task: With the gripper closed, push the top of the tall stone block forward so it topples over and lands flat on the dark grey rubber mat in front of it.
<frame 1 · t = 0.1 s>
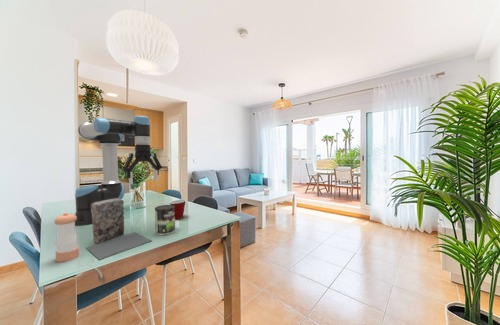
hand: (144, 182, 111), 28 cm above the table, fingers open, 13 cm apart
stone block: (109, 238, 104), on the table
mat: (119, 244, 96), on the table
salt shaker: (67, 257, 85), on the table
plastic cup: (178, 218, 136), on the table
coffee can: (165, 231, 112), on the table
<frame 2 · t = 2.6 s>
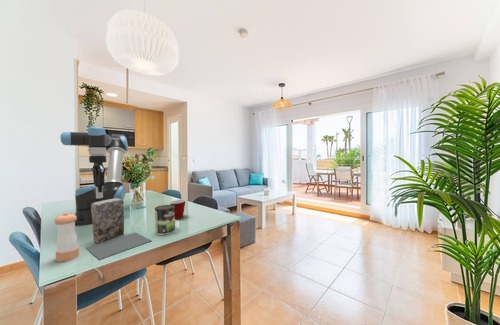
hand: (99, 197, 110), 20 cm above the table, fingers closed
nothing on the table moved.
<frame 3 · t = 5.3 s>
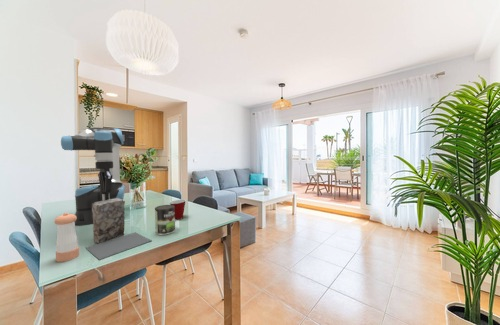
hand: (106, 205, 105), 17 cm above the table, fingers closed
stone block: (109, 238, 104), on the table, touching gripper
everything else where it was.
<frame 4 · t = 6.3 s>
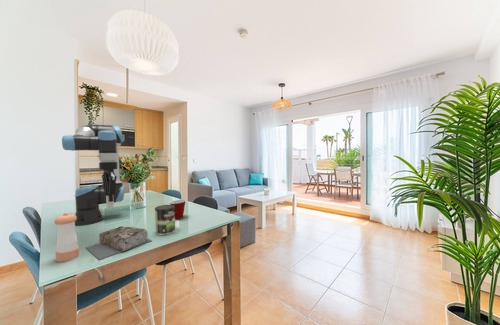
hand: (110, 207, 102), 17 cm above the table, fingers closed
stone block: (112, 233, 103), point 3 cm above the table, touching mat
everything else where it was.
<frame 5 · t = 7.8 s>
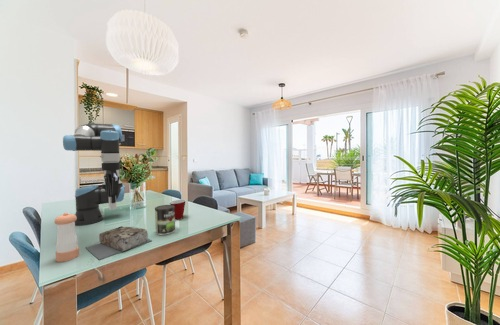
hand: (112, 209, 100), 16 cm above the table, fingers closed
nothing on the table moved.
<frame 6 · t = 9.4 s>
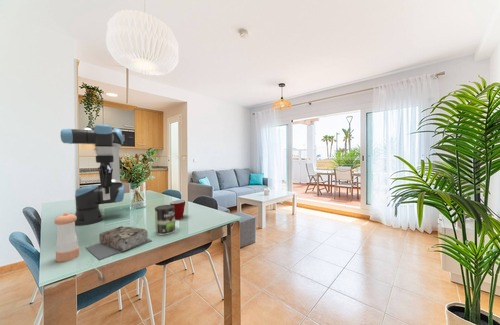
hand: (106, 199, 105), 20 cm above the table, fingers closed
nothing on the table moved.
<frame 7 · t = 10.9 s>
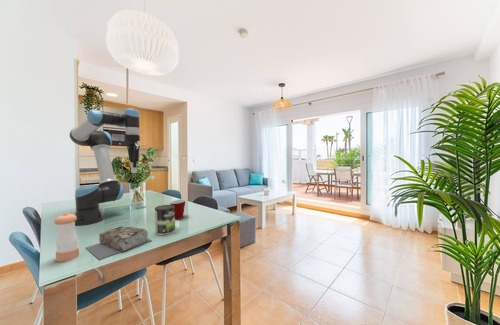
hand: (134, 172, 124), 32 cm above the table, fingers closed
nothing on the table moved.
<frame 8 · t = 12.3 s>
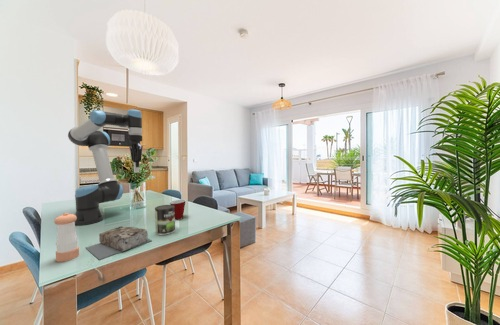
hand: (136, 172, 126), 32 cm above the table, fingers closed
nothing on the table moved.
at the end: stone block tilted 87°; stone block touching mat; the gripper is holding nothing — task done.
